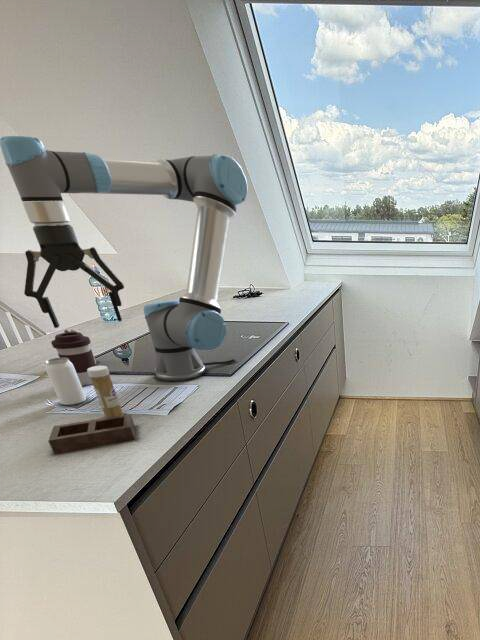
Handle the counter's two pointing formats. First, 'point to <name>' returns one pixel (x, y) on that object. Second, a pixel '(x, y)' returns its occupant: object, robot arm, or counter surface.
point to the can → (65, 381)
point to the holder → (92, 433)
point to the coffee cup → (76, 353)
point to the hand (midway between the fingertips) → (89, 323)
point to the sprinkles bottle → (105, 391)
